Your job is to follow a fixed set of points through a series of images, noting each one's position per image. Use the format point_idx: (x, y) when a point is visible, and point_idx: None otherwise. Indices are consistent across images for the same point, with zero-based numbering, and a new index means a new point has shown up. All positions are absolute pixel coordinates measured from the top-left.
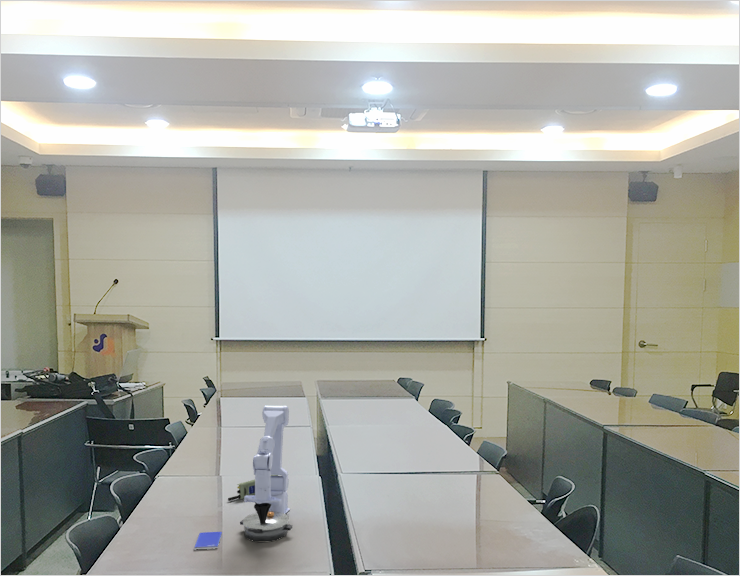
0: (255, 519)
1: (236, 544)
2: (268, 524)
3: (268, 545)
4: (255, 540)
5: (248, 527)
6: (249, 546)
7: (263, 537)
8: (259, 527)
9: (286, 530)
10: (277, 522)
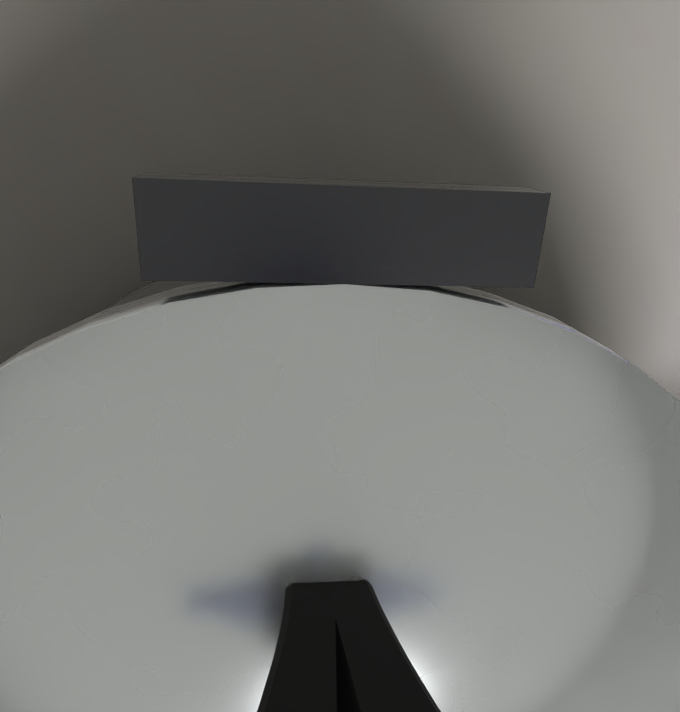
0: (534, 685)
1: (623, 66)
2: (145, 575)
3: (43, 164)
4: None
5: (572, 331)
6: (366, 37)
7: (184, 284)
8: (278, 373)
9: None
10: (9, 704)
